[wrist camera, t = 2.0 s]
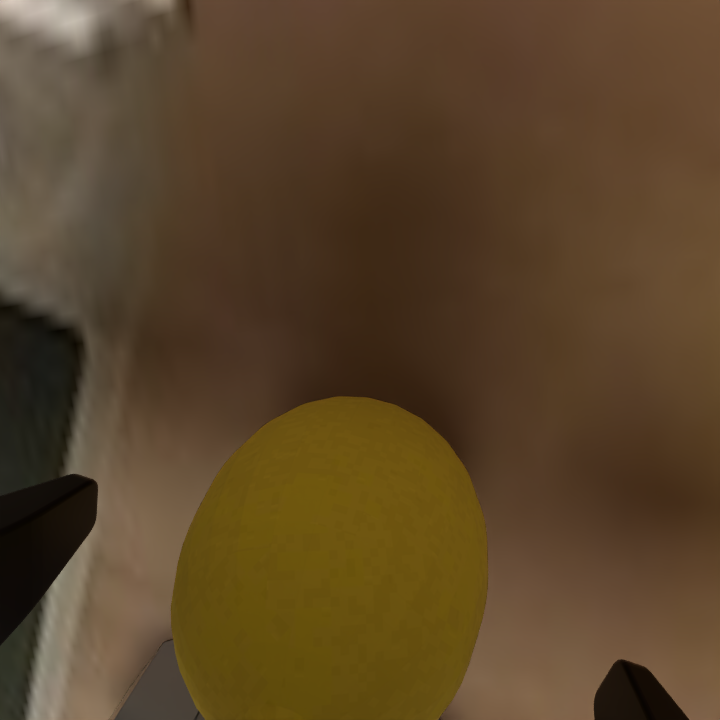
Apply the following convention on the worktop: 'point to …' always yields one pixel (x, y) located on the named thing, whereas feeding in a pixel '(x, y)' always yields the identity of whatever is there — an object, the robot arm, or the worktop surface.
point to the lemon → (332, 571)
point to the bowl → (158, 692)
